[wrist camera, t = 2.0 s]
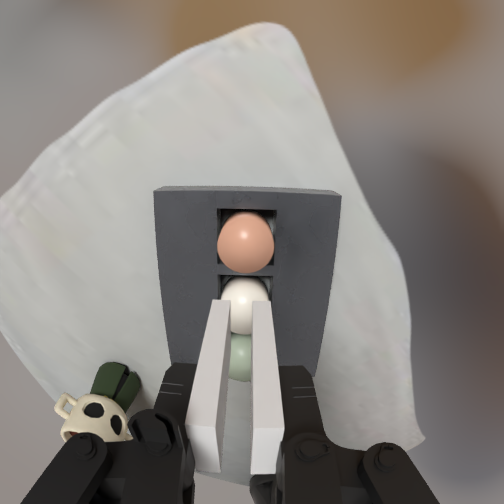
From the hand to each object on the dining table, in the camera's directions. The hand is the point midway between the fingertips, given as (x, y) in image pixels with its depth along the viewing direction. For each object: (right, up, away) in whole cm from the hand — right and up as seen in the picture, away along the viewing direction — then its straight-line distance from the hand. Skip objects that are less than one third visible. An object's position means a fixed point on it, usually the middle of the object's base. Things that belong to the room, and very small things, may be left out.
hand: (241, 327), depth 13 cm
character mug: (-18, -14, +23) cm, 32 cm away
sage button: (0, -6, +18) cm, 19 cm away
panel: (0, 0, +17) cm, 17 cm away
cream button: (0, -1, +16) cm, 16 cm away
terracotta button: (0, +5, +14) cm, 14 cm away
